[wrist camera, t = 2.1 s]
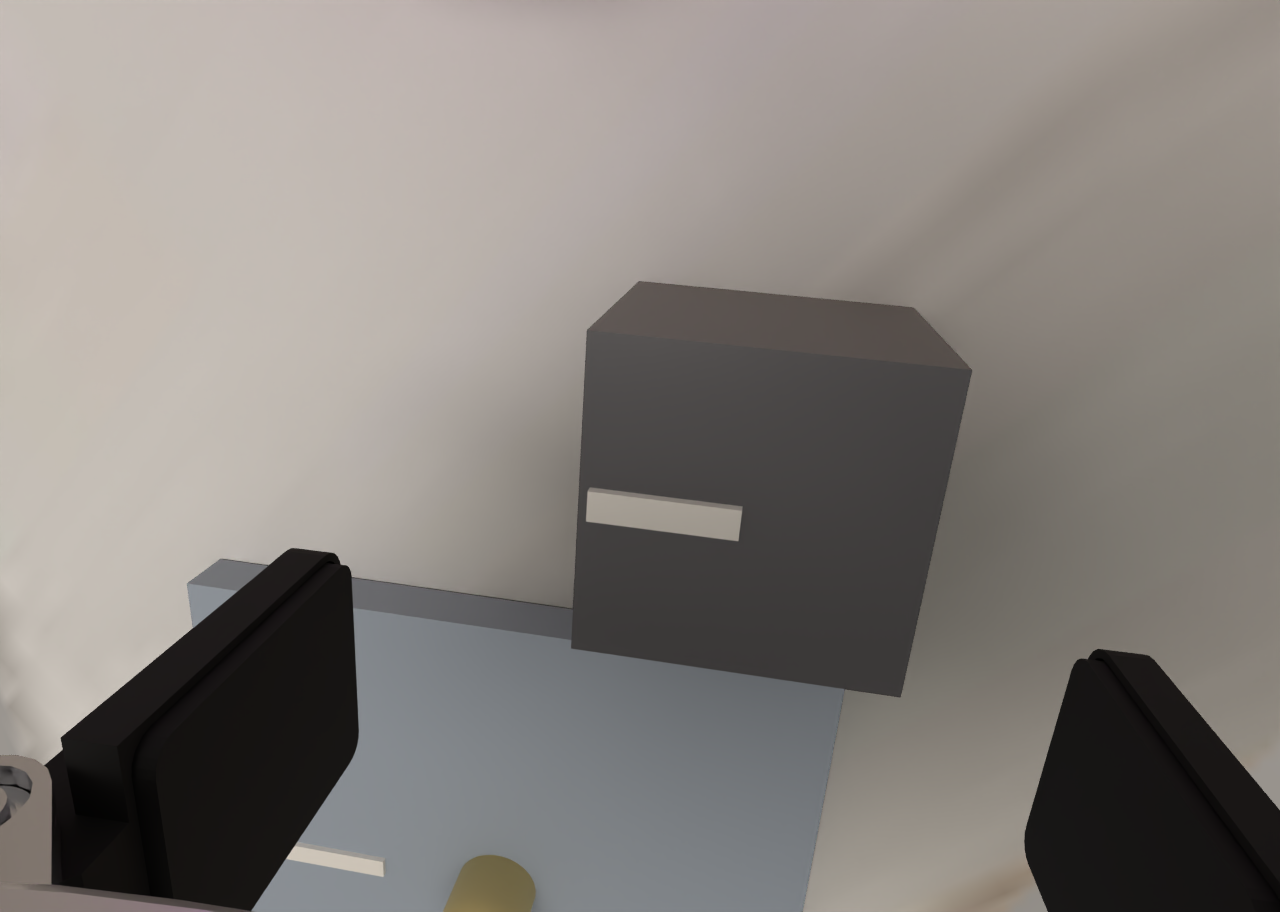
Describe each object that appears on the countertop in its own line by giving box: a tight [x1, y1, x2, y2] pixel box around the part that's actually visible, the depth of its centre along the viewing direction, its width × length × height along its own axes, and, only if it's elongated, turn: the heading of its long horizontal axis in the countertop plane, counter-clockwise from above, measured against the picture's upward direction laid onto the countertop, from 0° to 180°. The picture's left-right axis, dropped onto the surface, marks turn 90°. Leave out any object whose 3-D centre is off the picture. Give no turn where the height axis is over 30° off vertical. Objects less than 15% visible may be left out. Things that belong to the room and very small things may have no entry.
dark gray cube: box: [571, 281, 972, 697], centre depth 18 cm, size 6×6×6 cm
